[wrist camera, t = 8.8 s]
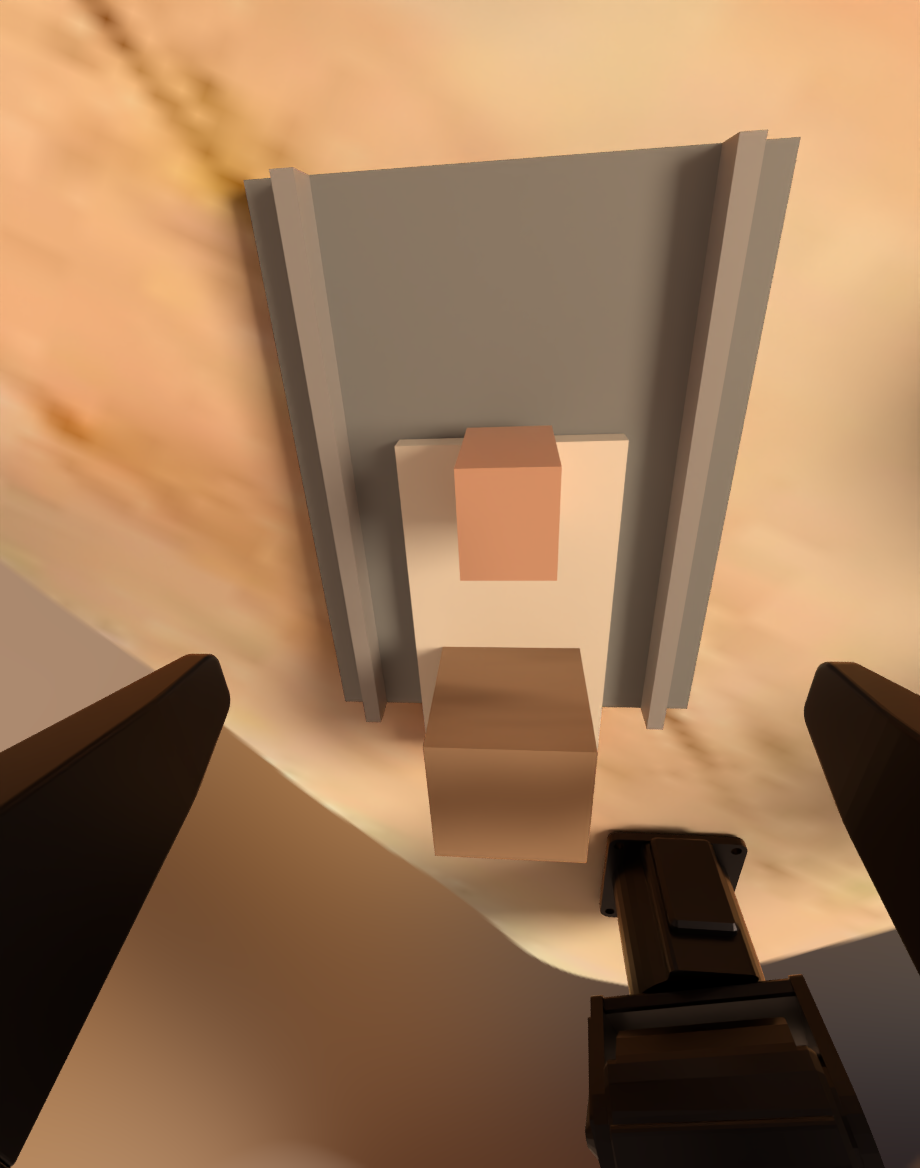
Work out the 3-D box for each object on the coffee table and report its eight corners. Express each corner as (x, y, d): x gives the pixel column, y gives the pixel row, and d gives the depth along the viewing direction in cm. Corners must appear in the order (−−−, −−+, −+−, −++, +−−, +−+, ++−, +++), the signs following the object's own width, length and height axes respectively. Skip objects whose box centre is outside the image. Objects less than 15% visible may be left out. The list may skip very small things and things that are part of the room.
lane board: (680, 692, 23) (695, 730, 21) (351, 685, 24) (337, 720, 22) (782, 145, 14) (825, 125, 12) (258, 185, 15) (222, 173, 14)
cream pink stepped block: (592, 760, 24) (609, 864, 19) (431, 755, 24) (414, 854, 20) (625, 416, 17) (662, 464, 12) (397, 423, 17) (360, 470, 13)
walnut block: (572, 748, 22) (586, 863, 18) (450, 745, 23) (435, 855, 18) (579, 648, 20) (597, 752, 16) (442, 646, 20) (423, 747, 16)
